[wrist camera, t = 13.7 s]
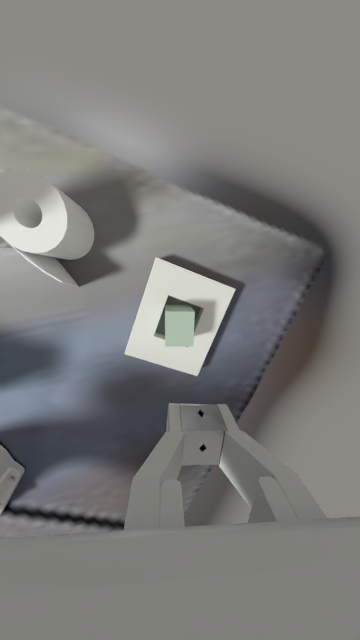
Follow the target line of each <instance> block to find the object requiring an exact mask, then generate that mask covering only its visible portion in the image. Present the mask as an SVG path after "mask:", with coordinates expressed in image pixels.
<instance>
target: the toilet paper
mask: <svg viewBox="0 0 360 640" xmlns="http://www.w3.org/2000/svg"><path fill="white" fill-rule="evenodd" d="M0 236H1V237H2V238H3V239H4V240H5V241H6V242H7V243H9V244H10V245H11V246H12V247H13V248H14V249H15V250H16V251H18V252H19V253H20V254H21V255H22V256H23V257H24V258H25V259H27V260H28V261H29V262H31V263H32V264H33V265H35V266H36V267H37V268H39V269H40V270H41V271H43V272H44V273H46V274H48V275H49V276H51V277H53V278H54V279H56V280H58V281H59V282H61V283H65V284H68V285H72V286H76V287H79V286H78V284H77V283H76V282H75V281H74V280H73V278H72V277H71V276H70V275H69V274H68V272H67V271H66V270H65V269H64V268H63V266H62V265H61V264H60V263H59V262H58V260H57V259H56V258H61V259H66V260H74V259H79V258H81V257H83V256H85V255H86V254H87V253H88V252H89V251H90V249H91V247H92V245H93V242H94V228H93V224H92V221H91V220H90V218H89V216H88V214H87V213H86V212H85V211H84V210H83V209H82V208H81V207H80V206H79V205H78V204H76V203H75V202H74V201H73V200H72V199H70V198H69V197H68V196H67V195H65V194H64V193H63V192H62V191H60V190H59V189H58V188H57V187H56V186H54V185H53V184H52V183H51V182H49V181H48V180H47V179H45V178H44V177H42V176H40V175H39V174H37V173H35V172H33V171H29V170H25V169H21V168H19V169H9V170H6V171H4V172H2V173H1V174H0ZM55 257H56V258H55Z"/></svg>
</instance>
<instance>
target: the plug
mask: <svg viewBox="0 0 360 640" xmlns="http://www.w3.org/2000/svg"><path fill="white" fill-rule="evenodd" d="M194 320H195V311H194V310H193V309H192V307H191V306H190V305H166V307H165V347H170V346H193V344H194Z"/></svg>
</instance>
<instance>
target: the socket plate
mask: <svg viewBox="0 0 360 640" xmlns="http://www.w3.org/2000/svg"><path fill="white" fill-rule="evenodd" d="M235 290H236V289H234V288H232V287H229V286H227V285H224V284H222V283H219V282H217V281H214V280H212V279H209V278H207V277H204V276H202V275H199V274H197V273H194V272H192V271H189V270H187V269H184V268H182V267H179V266H177V265H174V264H172V263H169V262H167V261H164V260H162V259H159V258H157V257H156V258H155V261H154V264H153V268H152V271H151V274H150V277H149V280H148V283H147V286H146V289H145V292H144V295H143V298H142V301H141V304H140V307H139V311H138V314H137V317H136V320H135V323H134V326H133V329H132V332H131V335H130V338H129V341H128V344H127V347H126V350H125V353H124V354H126V355H129V356H133V357H136V358H139V359H142V360H146V361H149V362H152V363H156V364H159V365H162V366H165V367H169V368H172V369H175V370H179V371H182V372H185V373H188V374H192V375H195V376H198V374H199V371H200V369H201V367H202V364H203V362H204V360H205V358H206V355H207V353H208V351H209V349H210V346H211V344H212V342H213V339H214V337H215V335H216V333H217V330H218V328H219V326H220V324H221V321H222V319H223V317H224V315H225V312H226V310H227V308H228V305H229V303H230V301H231V299H232V296H233V294H234V292H235ZM166 305H190V306H191V307H192V309H193V310H194V311H195V320H194V344H193V346H170V347H165V307H166Z"/></svg>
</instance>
